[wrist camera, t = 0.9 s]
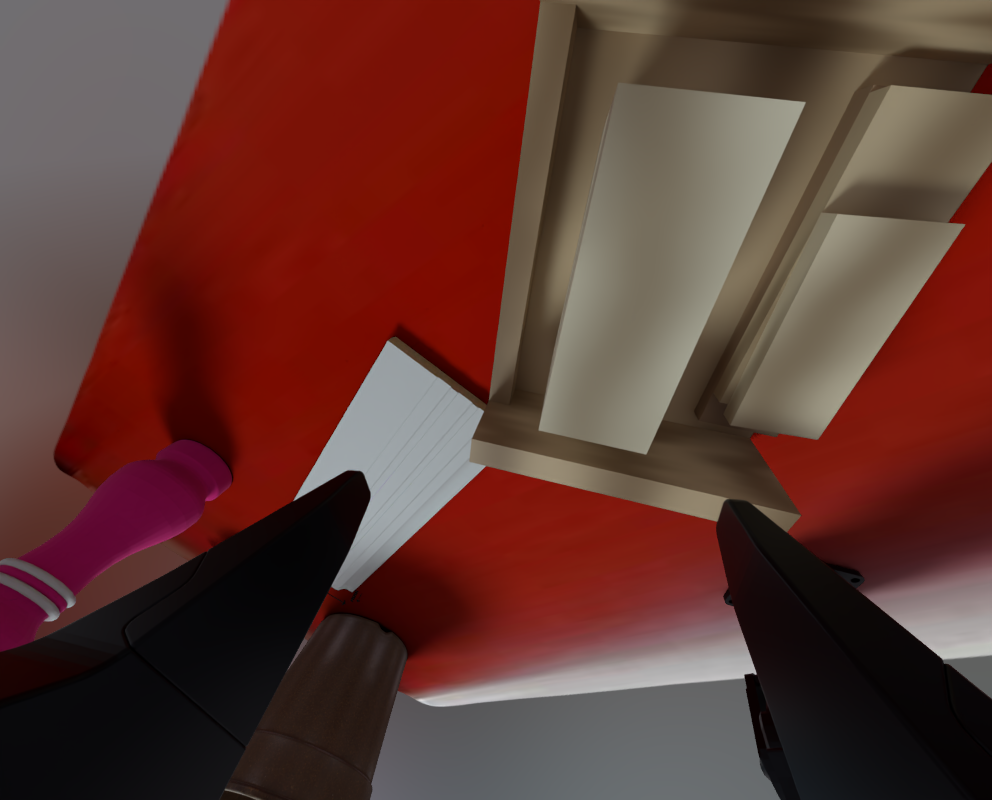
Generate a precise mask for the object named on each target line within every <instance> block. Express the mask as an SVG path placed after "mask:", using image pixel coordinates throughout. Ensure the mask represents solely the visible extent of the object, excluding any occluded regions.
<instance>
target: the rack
mask: <svg viewBox="0 0 992 800" xmlns="http://www.w3.org/2000/svg"><path fill="white" fill-rule="evenodd" d="M991 63H992V0H540V10H539V17H538V25H537V33H536V41H535V48H534V56H533V64H532V71H531V79H530V87H529V95H528V102H527V110H526V118H525V125H524V133H523V141H522V149H521V156H520V164H519V172H518V180H517V187H516V195H515V203H514V210H513V218H512V226H511V234H510V241H509V249H508V257H507V264H506V272H505V280H504V288H503V295H502V303H501V311H500V318H499V326H498V334H497V342H496V349H495V357H494V365H493V373H492V380H491V388H490V396H489V402H488V404H487V406H486V408H485V410H484V413H483V415H482V417H481V419H480V421H479V424H478V426H477V428H476V430H475V433H474V435H473V437H472V440H471V450H470V459H469V462H472V463H476V464H480V465H484V466H489V467H493V468H497V469H501V470H505V471H509V472H514V473H518V474H522V475H526V476H530V477H534V478H539V479H543V480H547V481H551V482H555V483H559V484H564V485H568V486H572V487H576V488H580V489H584V490H589V491H593V492H597V493H601V494H605V495H609V496H613V497H618V498H622V499H626V500H630V501H634V502H638V503H643V504H647V505H651V506H655V507H659V508H663V509H668V510H672V511H676V512H680V513H684V514H688V515H693V516H697V517H701V518H705V519H709V520H713V521H718V518H719V515H720V512H721V508H722V505H723V502H724V501H725V500H726V499H738V500H746V501H748V502H750V503H751V504H752V505H754V506H755V507H756V508H757V509H759V510H760V511H761V512H762V513H764V514H765V515H766V516H767V517H768V518H770V519H771V520H772V521H773V522H775V523H776V524H777V525H778V526H780V527H781V528H782V529H783V530H784V531H786V532H787V531H788V530H789V529H790V528H791V527H792V525H793V524H794V523H795V522H796V521H797V520H798V518H799V517H800V516H801V514H800V513H799V511H798V510H797V508H796V507H795V505H794V504H793V502H792V501H791V499H790V498H789V496H788V495H787V493H786V492H785V490H784V489H783V487H782V486H781V484H780V483H779V481H778V480H777V478H776V477H775V475H774V474H773V472H772V471H771V469H770V468H769V466H768V465H767V463H766V462H765V461H764V459H763V458H762V456H761V455H760V453H759V452H758V450H757V449H756V447H755V446H754V444H753V443H752V441H751V440H750V437H751V436H752V434H753V433H754V432H750V431H745V430H741V429H736V428H731V427H726V426H721V425H717V424H712V423H707V422H702V421H699V420H698V418H697V416H696V414H695V412H694V410H695V408H696V406H697V404H698V402H699V400H700V398H701V396H702V394H703V392H704V390H705V388H706V386H707V384H708V382H709V380H710V378H711V376H712V374H713V372H714V370H715V368H716V366H717V364H718V362H719V360H720V358H721V356H722V354H723V352H724V350H725V348H726V346H727V344H728V342H729V340H730V338H731V336H732V334H733V332H734V330H735V328H736V326H737V324H738V322H739V320H740V318H741V316H742V315H743V313H744V311H745V309H746V307H747V305H748V303H749V301H750V299H751V297H752V295H753V293H754V291H755V289H756V287H757V285H758V283H759V281H760V279H761V277H762V275H763V273H764V271H765V269H766V267H767V265H768V263H769V261H770V259H771V257H772V255H773V253H774V251H775V249H776V247H777V245H778V243H779V241H780V239H781V237H782V235H783V233H784V231H785V229H786V227H787V225H788V223H789V221H790V219H791V217H792V215H793V213H794V211H795V209H796V207H797V205H798V203H799V201H800V199H801V197H802V195H803V193H804V191H805V189H806V187H807V185H808V183H809V181H810V179H811V177H812V175H813V173H814V171H815V169H816V168H817V166H818V164H819V162H820V160H821V158H822V156H823V154H824V152H825V150H826V148H827V146H828V144H829V142H830V140H831V138H832V136H833V134H834V132H835V130H836V128H837V126H838V124H839V122H840V120H841V118H842V116H843V114H844V112H845V110H846V108H847V106H848V104H849V102H850V100H851V98H852V96H853V94H854V92H855V91H858V90H861V89H864V88H866V87H869V86H872V85H881V86H890V85H895V86H906V87H916V88H926V89H936V90H947V91H957V92H967V93H970V92H971V90H972V89H973V87H974V85H975V84H976V82H977V81H978V79H979V78H980V76H981V74H982V73H983V71H984V70H985V68H986V67H987V65H988V64H991ZM618 83H628V84H637V85H647V86H656V87H666V88H675V89H685V90H694V91H704V92H713V93H723V94H732V95H742V96H751V97H761V98H770V99H780V100H789V101H799V102H806V103H805V105H804V108H803V110H802V112H801V114H800V116H799V119H798V121H797V123H796V125H795V127H794V130H793V132H792V134H791V136H790V138H789V141H788V143H787V145H786V147H785V149H784V152H783V154H782V156H781V158H780V161H779V163H778V165H777V167H776V169H775V172H774V174H773V176H772V178H771V180H770V183H769V185H768V187H767V189H766V191H765V194H764V196H763V198H762V200H761V202H760V205H759V207H758V209H757V211H756V214H755V216H754V218H753V220H752V222H751V225H750V227H749V229H748V231H747V233H746V236H745V238H744V240H743V242H742V244H741V247H740V249H739V251H738V253H737V255H736V258H735V260H734V262H733V264H732V267H731V269H730V271H729V273H728V275H727V278H726V280H725V282H724V284H723V286H722V289H721V291H720V293H719V295H718V297H717V300H716V302H715V304H714V306H713V308H712V311H711V313H710V315H709V317H708V320H707V322H706V324H705V326H704V328H703V331H702V333H701V335H700V337H699V339H698V342H697V344H696V346H695V348H694V350H693V353H692V355H691V357H690V359H689V361H688V364H687V366H686V368H685V370H684V372H683V375H682V377H681V379H680V381H679V384H678V386H677V388H676V390H675V392H674V395H673V397H672V399H671V401H670V403H669V406H668V408H667V410H666V412H665V414H664V417H663V419H662V421H661V423H660V425H659V428H658V430H657V432H656V434H655V437H654V439H653V441H652V443H651V445H650V448H649V450H648V452H647V454H642V453H637V452H633V451H628V450H624V449H619V448H615V447H610V446H606V445H602V444H597V443H593V442H588V441H584V440H579V439H575V438H570V437H566V436H561V435H557V434H553V433H548V432H544V431H539V425H540V419H541V414H542V409H543V404H544V398H545V393H546V388H547V382H548V377H549V372H550V367H551V361H552V356H553V351H554V346H555V342H556V337H557V333H558V328H559V324H560V319H561V315H562V310H563V306H564V302H565V297H566V293H567V288H568V284H569V279H570V275H571V270H572V266H573V261H574V257H575V253H576V248H577V244H578V239H579V235H580V230H581V226H582V221H583V217H584V212H585V208H586V204H587V199H588V195H589V190H590V186H591V181H592V177H593V172H594V168H595V163H596V159H597V155H598V150H599V146H600V141H601V137H602V132H603V129H604V126H605V123H606V120H607V116H608V113H609V110H610V107H611V104H612V101H613V98H614V95H615V91H616V88H617V85H618Z"/></svg>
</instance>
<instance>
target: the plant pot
mask: <svg viewBox="0 0 992 800" xmlns="http://www.w3.org/2000/svg"><path fill="white" fill-rule="evenodd" d="M406 661H407V650H406V647H405V646H404V644H403V643H402V641H401V640H400V639H399V638H398V637H397V636H396V635H395V634H394V633H393V632H388V633H385V632H384V631H383V630H382V629H381V628H380V626H379V624H378V623H376V622H374V621H371V620H368V619H366V618H362V617H360V616H357V615H351V614H333V615H329V616H328V617H327V618H326V619H325V620H323V621H322V622H321V623H320V624H319V626H318V627H317V629H316V630H315V632H314V633H313V635H312V636H311V638H310V639H309V641H308V642H307V644H306V645H305V647H304V648H303V649H302V651H301V652H300V654H299V655H298V657H297V658H296V659H295V661H294V662H293V664H292V665H291V666H290V668H289V669H288V671H287V672H286V674H285V675H284V677H283V679H282V681H281V683H280V685H279V687H278V689H277V691H276V692H275V694H274V696H273V698H272V700H271V702H270V704H269V706H268V708H267V710H266V712H265V713H264V715H263V717H262V719H261V721H260V723H259V725H258V727H257V729H256V731H255V733H254V734H253V736H252V738H251V740H250V742H249V744H248V745H247V746H246V750H245V752H244V754H243V756H242V758H241V760H240V762H239V764H238V765H237V767H236V769H235V771H234V773H233V775H232V777H231V779H230V781H229V783H228V784H227V786H226V788H225V790H224V792H223V794H222V796H221V798H220V800H370V797H371V793H372V785H371V783H372V779H373V775H374V772H375V768H376V765H377V761H378V757H379V754H380V750H381V747H382V743H383V740H384V736H385V733H386V729H387V726H388V722H389V718H390V714H391V712H392V708H393V705H394V701H395V697H396V694H397V691H398V687H399V684H400V680H401V677H402V673H403V670H404V667H405V664H406Z"/></svg>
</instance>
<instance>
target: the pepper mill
mask: <svg viewBox="0 0 992 800" xmlns="http://www.w3.org/2000/svg"><path fill="white" fill-rule="evenodd" d="M231 482H232V475H231V472H230V470H229V468H228V466H227V465H226V463H225V462H224V461H223V460H222V459H221V458H220V457H219V456H218V455H217V454H216V453H215V452H214V451H212V450H211V449H209V448H208V447H206V446H204V445H203V444H201V443H198V442H195V441H192V440H179V441H176V442H174V443H173V444H171V445H169V446H168V447H166V448H165V449H163V450H161V451H160V452H158V454H157V456H156V460H142V461H135V462H131V463H129V464H127V465H125V466H124V467H122V468H121V469H119V470H118V471H116V472H115V473H114V474H112V475H111V476H110V477H109V478H108V479H107V480H106V481H105V482H104V483H103V484H102V485H101V486H100V487H99V488H98V489H97V490H96V492H95V493H94V494H93V496H92V497H91V499H90V500H89V501H88V503H87V504H86V506H85V507H84V508H83V510H82V511H81V512H80V513H79V514H78V516H77V517H76V518H75V519H74V520H73V521H72V522H71V523H70V524H69V525H68V526H67V527H65V528H64V529H63V531H61V532H60V533H58V534H57V535H55V536H54V537H53V538H51V539H50V540H48V541H47V542H45V543H44V544H42V545H41V546H39V547H37V548H36V549H34V550H32V551H30V552H28V553H27V554H25V555H23V556H21V557H19V558H18V559H14V558H7V559H4V560H2V561H0V652H1V651H5V650H9V649H12V648H16V647H19V646H22V645H25V644H27V643H30V642H33V641H34V638H35V635H36V631H37V630H38V628H39V626H40V625H41V624H42V623H43V621H53V620H55V619H57V618H58V617H59V615H60V613H61V612H62V611H64V610H65V609H66V608H68V607H71V606H73V605H74V604H75V602H76V598H75V595H76V594H77V593H78V592H80V591H81V590H82V589H83V588H84V587H85V586H86V585H87V584H88V583H89V582H90V581H92V580H93V579H94V578H95V577H96V576H98V575H99V574H101V573H102V572H103V571H105V570H106V569H107V568H109V567H110V566H112V565H113V564H115V563H117V562H118V561H120V560H122V559H124V558H125V557H127V556H129V555H131V554H133V553H136V552H138V551H140V550H143V549H145V548H148V547H150V546H153V545H155V544H158V543H161V542H163V541H166V540H168V539H171V538H172V537H174V536H176V535H178V534H180V533H182V532H183V531H185V530H186V529H187V528H189V527H190V526H191V525H193V524H194V523H195V522H197V521H198V519H199V518H200V517H201V515H202V513H203V510H204V506H205V501H210V500H214V499H215V498H217V497H218V496H219V495H220V494H221V493H223V492H224V491H225V490H226V489H227V488H229V487H230V485H231Z"/></svg>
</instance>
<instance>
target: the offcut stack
mask: <svg viewBox="0 0 992 800" xmlns="http://www.w3.org/2000/svg"><path fill="white" fill-rule="evenodd" d="M991 162H992V95H988V94H977V93H967V92H957V91H947V90H936V89H926V88H916V87H906V86H895V85H890V86H881V85H872V86H869V87H866V88H864V89H861V90H858V91H855V92H854V94H853V96H852V98H851V100H850V102H849V104H848V106H847V108H846V110H845V112H844V114H843V116H842V118H841V120H840V122H839V124H838V126H837V128H836V130H835V132H834V134H833V136H832V138H831V140H830V142H829V144H828V146H827V148H826V150H825V152H824V154H823V156H822V158H821V160H820V162H819V164H818V166H817V168H816V169H815V171H814V173H813V175H812V177H811V179H810V181H809V183H808V185H807V187H806V189H805V191H804V193H803V195H802V197H801V199H800V201H799V203H798V205H797V207H796V209H795V211H794V213H793V215H792V217H791V219H790V221H789V223H788V225H787V227H786V229H785V231H784V233H783V235H782V237H781V239H780V241H779V243H778V245H777V247H776V249H775V251H774V253H773V255H772V257H771V259H770V261H769V263H768V265H767V267H766V269H765V271H764V273H763V275H762V277H761V279H760V281H759V283H758V285H757V287H756V289H755V291H754V293H753V295H752V297H751V299H750V301H749V303H748V305H747V307H746V309H745V311H744V313H743V315H742V316H741V318H740V320H739V322H738V324H737V326H736V328H735V330H734V332H733V334H732V336H731V338H730V340H729V342H728V344H727V346H726V348H725V350H724V352H723V354H722V356H721V358H720V360H719V362H718V364H717V366H716V368H715V370H714V372H713V374H712V376H711V378H710V380H709V382H708V384H707V386H706V388H705V390H704V392H703V394H702V396H701V398H700V400H699V402H698V404H697V406H696V408H695V410H694V412H695V414H696V416H697V418H698V420H699V421H702V422H707V423H712V424H717V425H721V426H726V427H731V428H736V429H741V430H745V431H750V432H755V433H760V434H764V435H769V436H774V437H777V435H778V434H779V433H781V434H787V435H793V436H799V437H805V438H811V439H817V440H818V439H819V437H820V436H821V434H822V433H823V431H824V430H825V428H826V427H827V426H828V424H829V423H830V421H831V420H832V418H833V417H834V415H835V414H836V412H837V411H838V409H839V408H840V407H841V405H842V404H843V402H844V401H845V399H846V398H847V396H848V395H849V393H850V392H851V391H852V389H853V388H854V386H855V385H856V383H857V382H858V380H859V379H860V377H861V376H862V374H863V373H864V372H865V370H866V369H867V367H868V366H869V364H870V363H871V361H872V360H873V358H874V357H875V355H876V354H877V353H878V351H879V350H880V348H881V347H882V345H883V344H884V342H885V341H886V339H887V338H888V337H889V335H890V334H891V332H892V331H893V329H894V328H895V326H896V325H897V323H898V322H899V320H900V319H901V318H902V316H903V315H904V313H905V312H906V310H907V309H908V307H909V306H910V304H911V303H912V301H913V300H914V299H915V297H916V296H917V294H918V293H919V291H920V290H921V288H922V287H923V285H924V284H925V283H926V281H927V280H928V278H929V277H930V275H931V274H932V272H933V271H934V269H935V268H936V266H937V265H938V264H939V262H940V261H941V259H942V258H943V256H944V255H945V253H946V252H947V250H948V249H949V247H950V246H951V245H952V243H953V242H954V240H955V239H956V237H957V236H958V234H959V233H960V231H961V230H962V229H963V227H964V226H965V224H954V223H948V221H949V220H950V219H951V217H952V216H953V214H954V213H955V212H956V210H957V209H958V207H959V206H960V205H961V203H962V202H963V201H964V199H965V198H966V196H967V195H968V194H969V192H970V191H971V189H972V188H973V187H974V185H975V184H976V182H977V181H978V180H979V178H980V177H981V175H982V174H983V173H984V171H985V170H986V168H987V167H988V166H989V164H990V163H991Z"/></svg>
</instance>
